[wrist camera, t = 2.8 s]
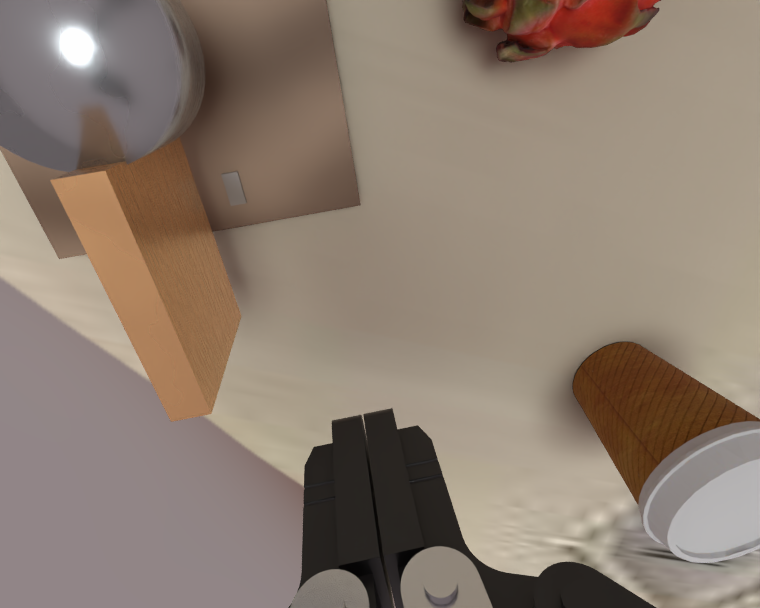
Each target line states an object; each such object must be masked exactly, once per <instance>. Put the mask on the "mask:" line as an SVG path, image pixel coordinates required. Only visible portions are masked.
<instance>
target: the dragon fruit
mask: <svg viewBox="0 0 760 608" xmlns="http://www.w3.org/2000/svg"><path fill="white" fill-rule="evenodd" d="M658 1H661V0H463V11H464V21H465V23H468V24H470V25H474V26H477V27H479V28H481V29H483V30H487V31H495V30H498V29H503V31H504V32H505V33H507V40H506V41H503V42H500V43H499V44H498V45H497V47H496V51H497V58H498V60H499V61H502V62H507V61H508V62H515V61H522V60H528V59H531V58H537V57H540V56H543V55H545V54H547V53H548V52H549V51H551V50H552V49H553V48H555V49H558V48H560V47H563V46H574V47H576V48H584V47H587V48H592V47H598V46H604V45H608V44H610V43H612V42H614V41H616V40H618V39H620V38H621V37H624V36H629V35H633V34H635V33H637V32H638V31H640V30H641V29H643V28H645V27H646V26H647V24H648V23H649V22H650V20H651V19H652V18H653V17H654V16H655V15H656V14H657V12H658V11H659V8H655V7H653V5H654V4H655V3H657V2H658Z"/></svg>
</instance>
